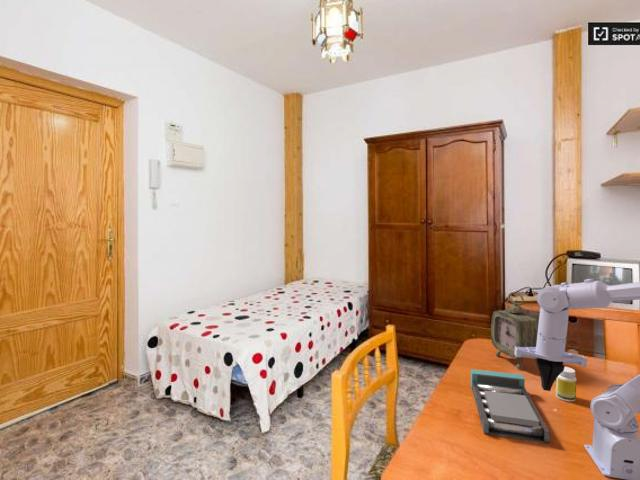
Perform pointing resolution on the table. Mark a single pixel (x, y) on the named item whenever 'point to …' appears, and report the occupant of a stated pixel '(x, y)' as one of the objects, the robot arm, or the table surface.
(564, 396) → the supplement bottle
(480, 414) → the roller bed
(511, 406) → the slab
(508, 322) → the tabletop clock
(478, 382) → the end stop
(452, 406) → the table surface
